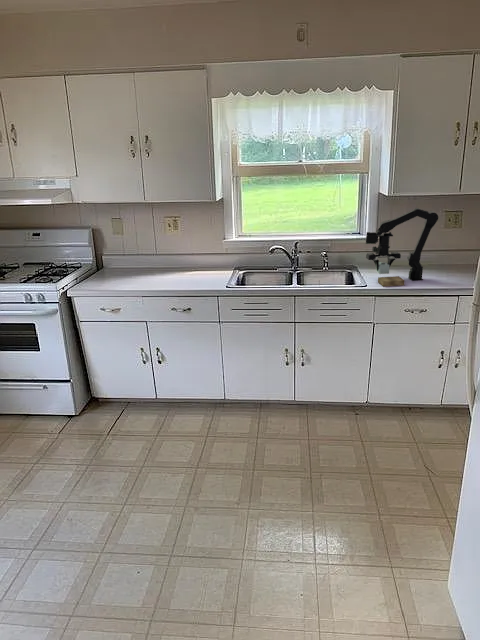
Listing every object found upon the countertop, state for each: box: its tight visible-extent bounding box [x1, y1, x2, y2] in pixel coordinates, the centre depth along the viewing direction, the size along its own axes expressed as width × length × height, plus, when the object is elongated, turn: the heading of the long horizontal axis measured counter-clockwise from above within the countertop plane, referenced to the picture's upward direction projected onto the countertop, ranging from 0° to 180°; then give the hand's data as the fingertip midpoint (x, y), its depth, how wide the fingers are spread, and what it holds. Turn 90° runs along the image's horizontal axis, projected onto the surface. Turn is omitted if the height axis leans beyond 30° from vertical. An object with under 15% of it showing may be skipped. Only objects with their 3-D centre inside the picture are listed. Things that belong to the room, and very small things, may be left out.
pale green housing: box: [375, 261, 390, 275], centre depth 279 cm, size 6×8×6 cm
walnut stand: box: [377, 275, 406, 288], centre depth 269 cm, size 12×9×3 cm
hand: (382, 270), depth 279 cm, fingers closed on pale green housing, 6 cm apart
